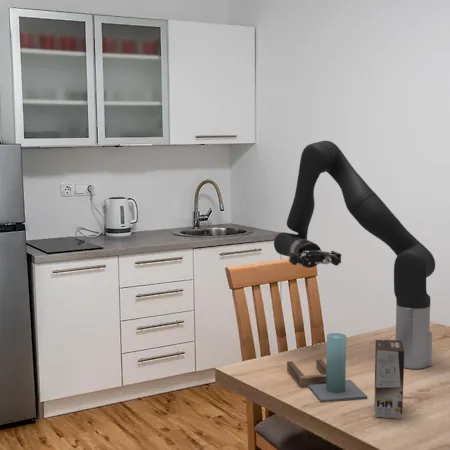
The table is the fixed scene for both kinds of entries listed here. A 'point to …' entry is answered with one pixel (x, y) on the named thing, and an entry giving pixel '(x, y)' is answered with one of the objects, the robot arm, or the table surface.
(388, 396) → the coffee box
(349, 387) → the felt pad
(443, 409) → the table surface
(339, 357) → the canister
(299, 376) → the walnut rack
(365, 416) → the table surface
